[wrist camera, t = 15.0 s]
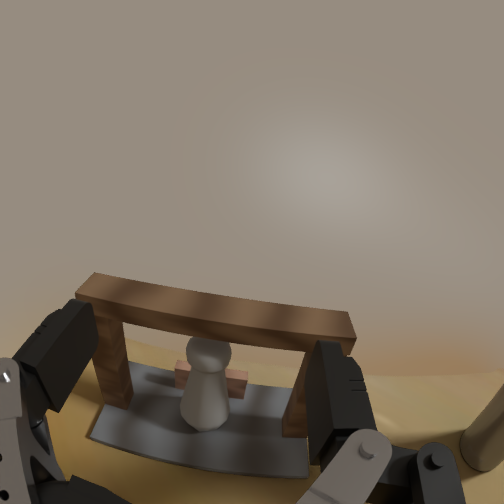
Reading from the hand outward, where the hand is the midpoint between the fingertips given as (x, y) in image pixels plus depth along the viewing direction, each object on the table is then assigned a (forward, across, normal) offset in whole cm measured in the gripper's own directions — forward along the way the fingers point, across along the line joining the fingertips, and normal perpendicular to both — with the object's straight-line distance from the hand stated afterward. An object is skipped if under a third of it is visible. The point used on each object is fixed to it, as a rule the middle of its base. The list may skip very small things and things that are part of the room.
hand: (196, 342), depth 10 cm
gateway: (+13, +2, +26) cm, 29 cm away
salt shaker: (+13, +2, +26) cm, 29 cm away
